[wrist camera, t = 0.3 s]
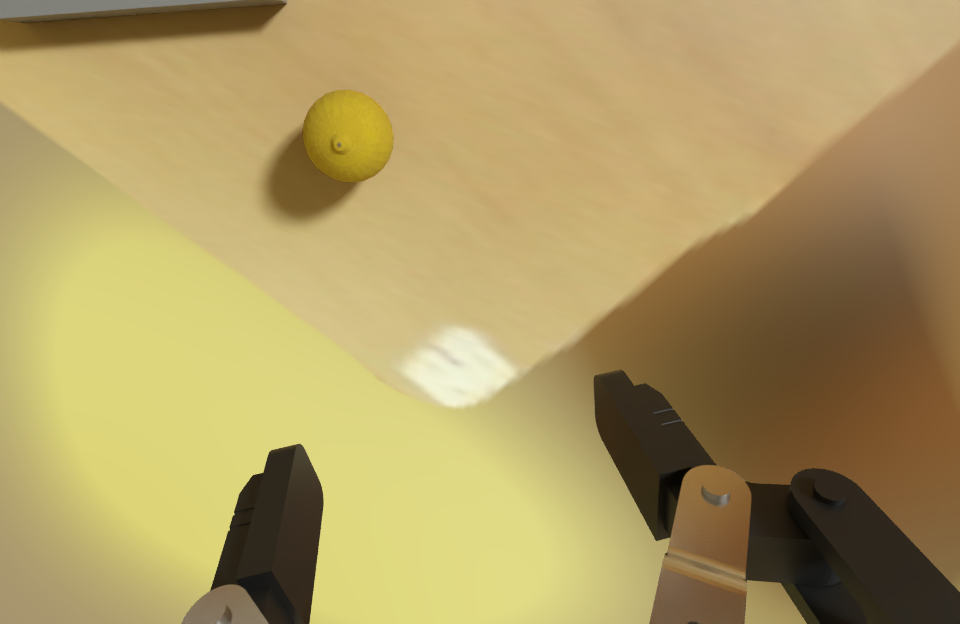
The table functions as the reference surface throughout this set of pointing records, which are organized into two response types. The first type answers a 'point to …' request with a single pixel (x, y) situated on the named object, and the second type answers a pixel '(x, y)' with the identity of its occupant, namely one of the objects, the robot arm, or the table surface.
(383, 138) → the lemon
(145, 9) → the tray
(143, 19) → the table surface
